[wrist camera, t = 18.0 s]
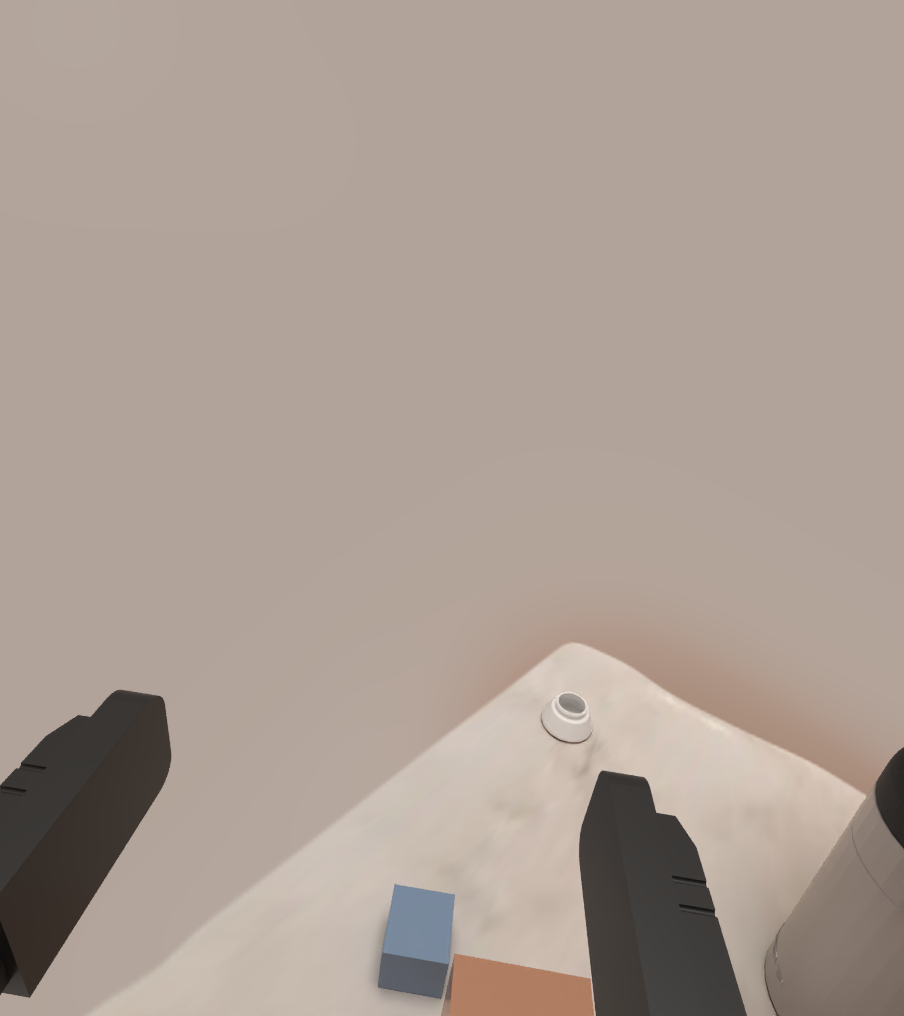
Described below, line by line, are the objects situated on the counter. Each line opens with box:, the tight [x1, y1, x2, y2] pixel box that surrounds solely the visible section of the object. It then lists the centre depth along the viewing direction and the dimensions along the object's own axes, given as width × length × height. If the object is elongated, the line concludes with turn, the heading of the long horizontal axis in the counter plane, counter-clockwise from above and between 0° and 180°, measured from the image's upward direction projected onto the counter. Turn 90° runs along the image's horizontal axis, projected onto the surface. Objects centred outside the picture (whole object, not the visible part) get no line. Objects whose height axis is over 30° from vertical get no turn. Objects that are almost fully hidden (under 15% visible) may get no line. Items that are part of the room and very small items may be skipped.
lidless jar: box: [541, 692, 593, 742], centre depth 57 cm, size 5×3×5 cm
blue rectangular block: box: [378, 884, 455, 999], centre depth 37 cm, size 4×4×4 cm
